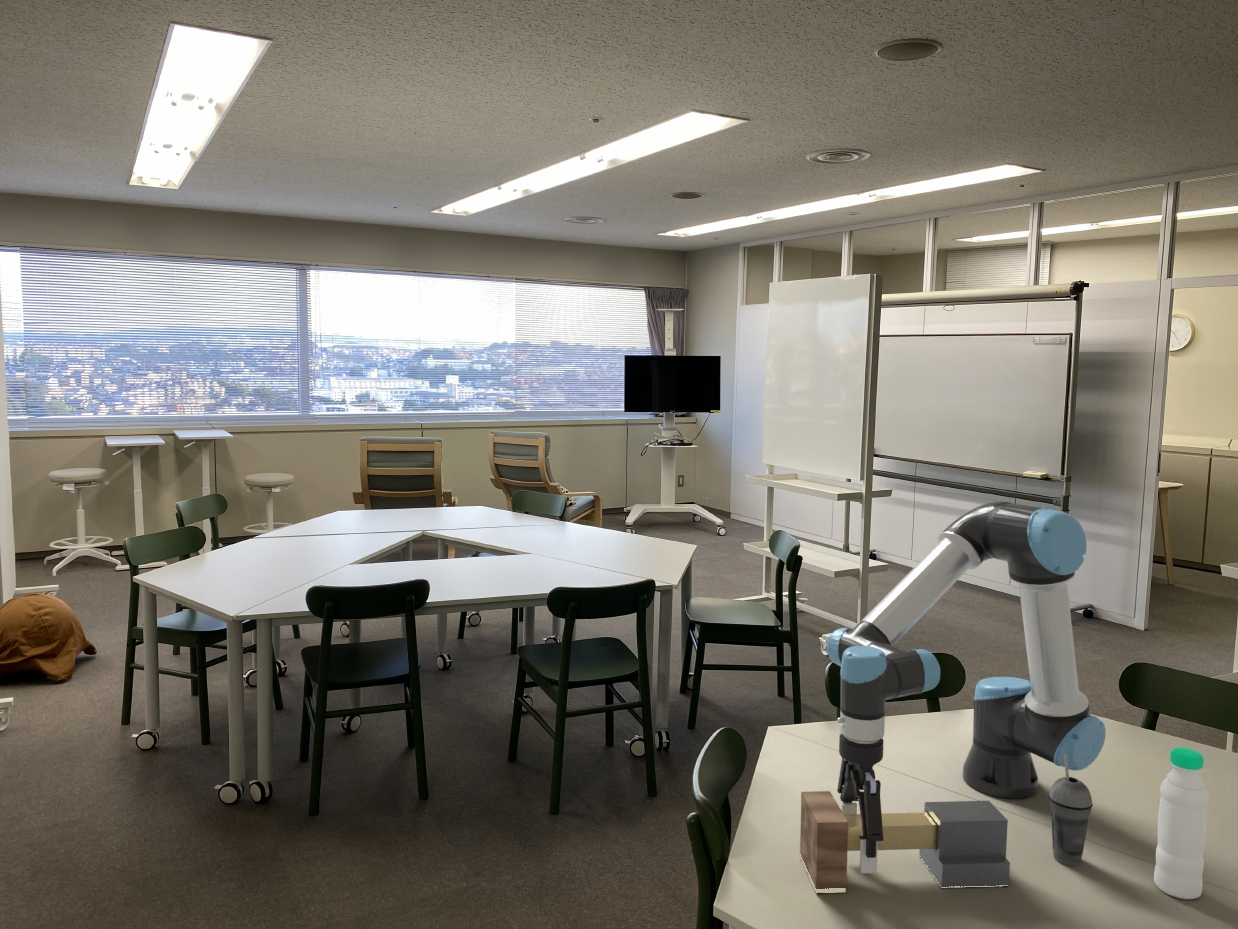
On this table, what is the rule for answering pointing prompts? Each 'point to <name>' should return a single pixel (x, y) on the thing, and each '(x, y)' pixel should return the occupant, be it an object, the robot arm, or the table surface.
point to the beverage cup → (1069, 817)
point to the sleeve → (968, 844)
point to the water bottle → (1182, 827)
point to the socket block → (824, 839)
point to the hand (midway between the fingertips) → (857, 854)
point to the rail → (897, 831)
